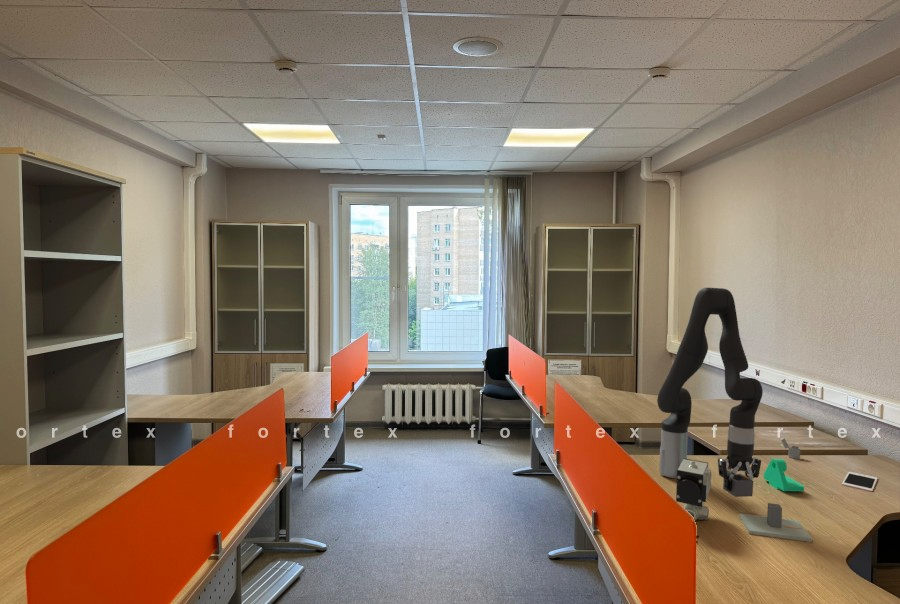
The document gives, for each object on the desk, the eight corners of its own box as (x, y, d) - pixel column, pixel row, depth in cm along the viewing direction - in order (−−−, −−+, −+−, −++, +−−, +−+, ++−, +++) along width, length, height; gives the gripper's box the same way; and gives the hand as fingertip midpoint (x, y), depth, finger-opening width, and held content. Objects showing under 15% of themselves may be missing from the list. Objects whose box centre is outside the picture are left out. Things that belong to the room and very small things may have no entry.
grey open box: (735, 496, 169) (736, 480, 168) (723, 489, 175) (724, 473, 174) (752, 496, 170) (753, 479, 169) (739, 488, 176) (740, 472, 175)
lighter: (799, 458, 224) (800, 439, 223) (800, 459, 222) (800, 440, 222) (780, 455, 227) (780, 436, 227) (780, 456, 226) (780, 437, 225)
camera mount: (805, 494, 186) (806, 465, 185) (783, 494, 186) (784, 465, 185) (783, 481, 198) (784, 454, 197) (763, 481, 198) (764, 453, 197)
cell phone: (877, 479, 201) (877, 477, 201) (872, 493, 188) (872, 490, 188) (848, 473, 207) (848, 471, 207) (841, 486, 194) (841, 483, 194)
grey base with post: (749, 533, 155) (750, 510, 155) (739, 516, 167) (740, 494, 167) (812, 542, 151) (813, 517, 151) (797, 523, 162) (798, 501, 162)
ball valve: (705, 532, 156) (707, 473, 155) (674, 525, 160) (675, 467, 160) (712, 510, 171) (713, 456, 170) (683, 504, 176) (685, 451, 175)
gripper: (728, 443, 166) (724, 496, 167) (769, 442, 168) (766, 494, 169) (713, 436, 174) (710, 486, 175) (753, 435, 176) (749, 484, 177)
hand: (737, 489), depth 172 cm, fingers closed on grey open box, 6 cm apart
